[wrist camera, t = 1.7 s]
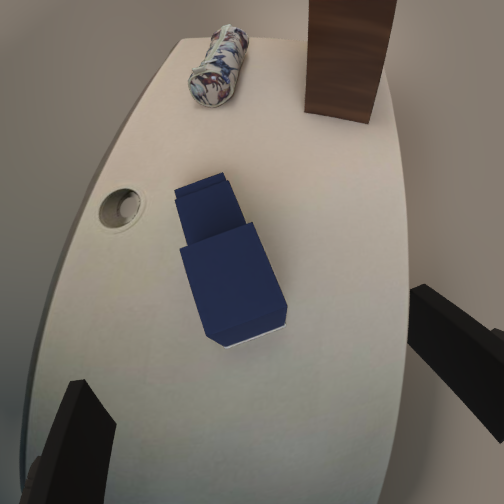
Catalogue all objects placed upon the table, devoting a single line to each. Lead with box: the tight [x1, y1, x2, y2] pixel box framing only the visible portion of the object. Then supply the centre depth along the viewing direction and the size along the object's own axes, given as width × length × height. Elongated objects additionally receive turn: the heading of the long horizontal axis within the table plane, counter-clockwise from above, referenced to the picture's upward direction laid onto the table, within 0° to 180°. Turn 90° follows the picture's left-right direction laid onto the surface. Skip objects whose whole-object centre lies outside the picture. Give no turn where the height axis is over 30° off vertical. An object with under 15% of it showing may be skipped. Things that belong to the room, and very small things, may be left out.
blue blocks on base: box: [174, 172, 287, 349], centre depth 36 cm, size 22×8×12 cm, turn 20°
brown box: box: [304, 0, 397, 124], centre depth 43 cm, size 26×12×28 cm, turn 166°
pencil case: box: [188, 24, 249, 107], centre depth 54 cm, size 22×8×10 cm, turn 172°
